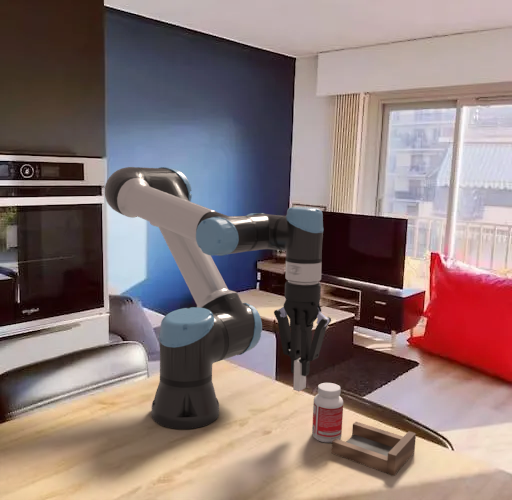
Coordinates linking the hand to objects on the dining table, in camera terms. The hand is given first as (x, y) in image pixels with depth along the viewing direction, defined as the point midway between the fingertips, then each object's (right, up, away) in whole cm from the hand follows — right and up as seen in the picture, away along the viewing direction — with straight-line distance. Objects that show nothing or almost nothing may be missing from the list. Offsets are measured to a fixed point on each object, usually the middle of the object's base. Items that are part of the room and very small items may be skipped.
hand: (299, 388), depth 118 cm
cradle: (+13, -11, -8) cm, 19 cm away
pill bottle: (+6, -10, -3) cm, 11 cm away
